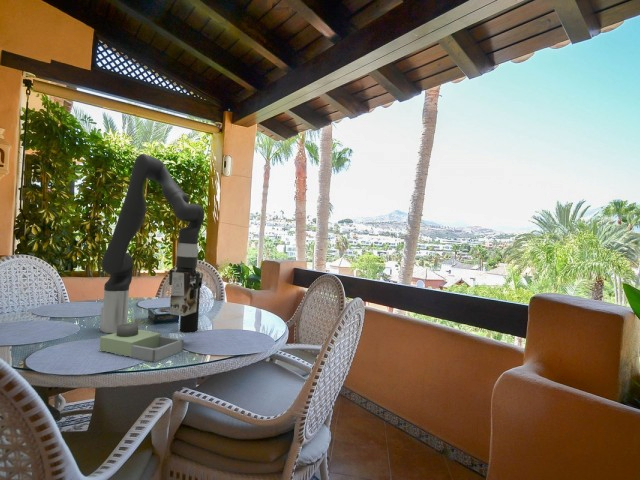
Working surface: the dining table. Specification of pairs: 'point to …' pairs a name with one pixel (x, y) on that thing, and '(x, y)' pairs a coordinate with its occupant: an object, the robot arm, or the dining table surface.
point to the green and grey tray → (140, 343)
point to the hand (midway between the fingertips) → (184, 298)
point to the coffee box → (182, 294)
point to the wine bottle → (190, 319)
